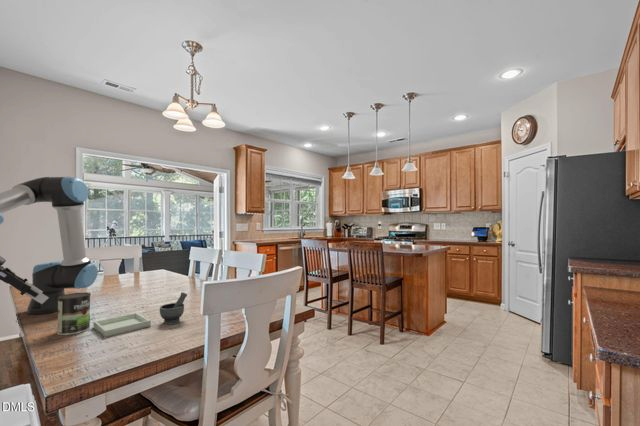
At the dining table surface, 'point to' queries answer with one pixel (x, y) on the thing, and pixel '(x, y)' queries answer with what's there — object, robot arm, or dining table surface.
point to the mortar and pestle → (173, 310)
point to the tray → (121, 324)
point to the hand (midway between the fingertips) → (42, 297)
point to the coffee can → (73, 313)
